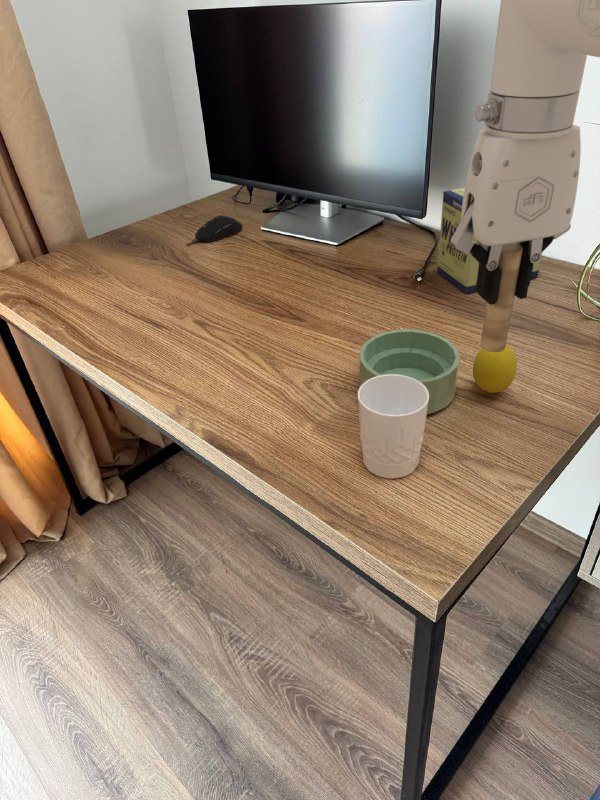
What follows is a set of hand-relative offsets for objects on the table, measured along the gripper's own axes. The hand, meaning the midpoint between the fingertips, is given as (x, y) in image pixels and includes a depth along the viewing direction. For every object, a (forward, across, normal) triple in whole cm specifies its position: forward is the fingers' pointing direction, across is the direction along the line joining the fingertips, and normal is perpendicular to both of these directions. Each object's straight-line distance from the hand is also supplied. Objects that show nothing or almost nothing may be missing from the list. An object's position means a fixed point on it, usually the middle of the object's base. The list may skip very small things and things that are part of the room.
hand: (501, 294), depth 64 cm
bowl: (+19, -6, +10) cm, 22 cm away
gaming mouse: (+19, -24, +80) cm, 86 cm away
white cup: (+19, -13, -2) cm, 23 cm away
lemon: (+19, +5, +6) cm, 20 cm away
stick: (+7, 0, 0) cm, 7 cm away
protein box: (+19, +22, +39) cm, 49 cm away
